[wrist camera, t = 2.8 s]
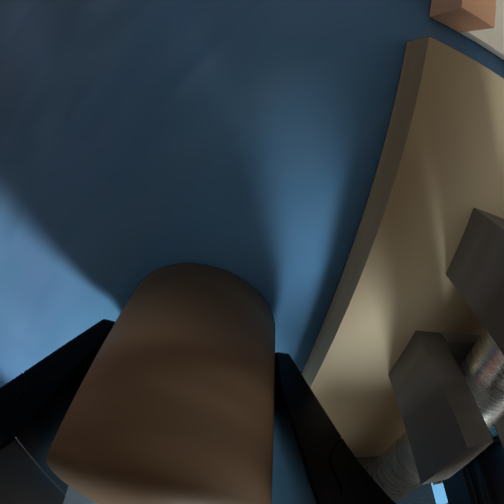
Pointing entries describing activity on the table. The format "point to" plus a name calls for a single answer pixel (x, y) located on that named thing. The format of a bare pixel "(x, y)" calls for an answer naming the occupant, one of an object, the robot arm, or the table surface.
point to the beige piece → (422, 272)
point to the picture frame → (474, 21)
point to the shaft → (400, 453)
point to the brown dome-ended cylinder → (177, 397)
